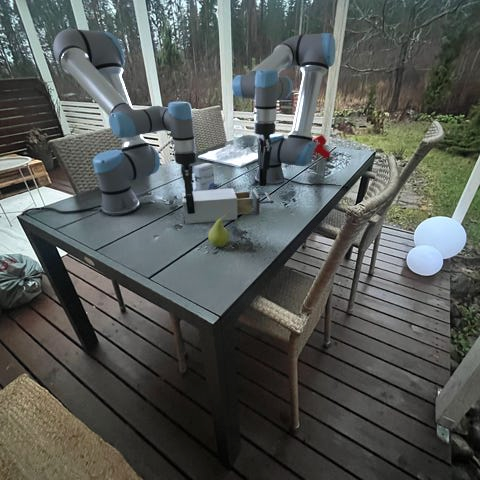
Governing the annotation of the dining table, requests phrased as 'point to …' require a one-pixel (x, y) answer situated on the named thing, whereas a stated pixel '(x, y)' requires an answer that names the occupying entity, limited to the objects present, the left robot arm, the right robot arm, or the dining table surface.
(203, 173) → the ink box
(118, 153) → the left robot arm
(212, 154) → the relief map
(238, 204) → the drawer
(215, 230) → the fruit
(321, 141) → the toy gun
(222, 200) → the cabinet
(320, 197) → the dining table surface
